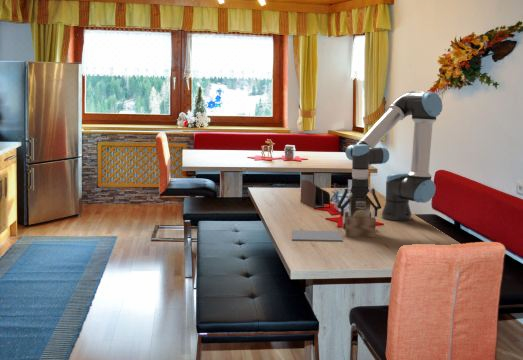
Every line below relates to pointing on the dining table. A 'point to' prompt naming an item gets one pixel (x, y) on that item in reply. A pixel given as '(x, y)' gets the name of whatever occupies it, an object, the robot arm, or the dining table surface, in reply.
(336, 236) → the rubber mat
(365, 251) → the dining table surface
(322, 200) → the letter holder
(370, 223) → the packet holder
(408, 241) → the dining table surface
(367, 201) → the coffee box
